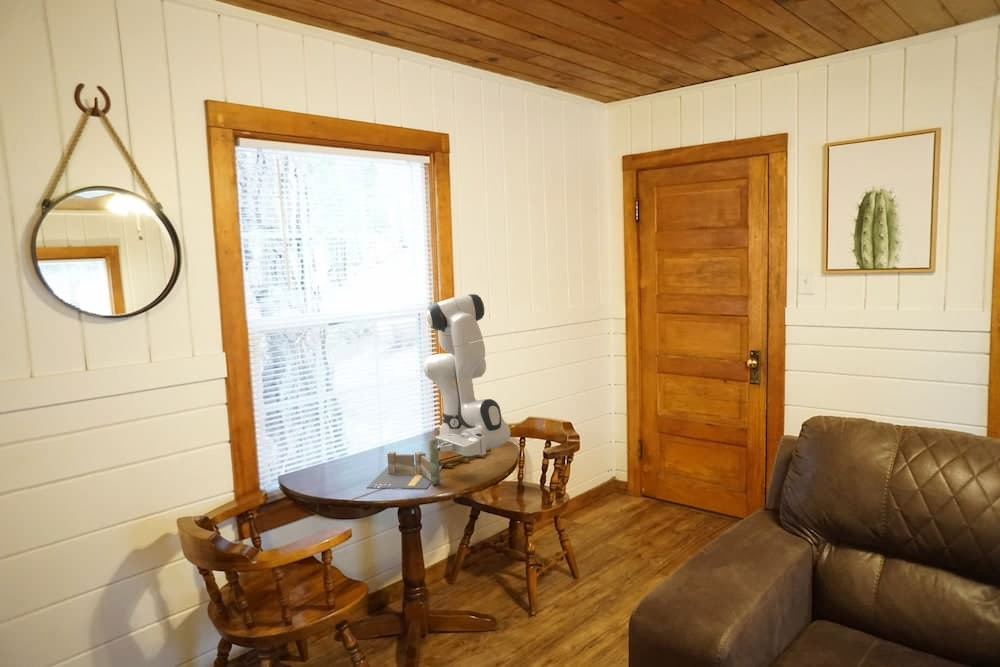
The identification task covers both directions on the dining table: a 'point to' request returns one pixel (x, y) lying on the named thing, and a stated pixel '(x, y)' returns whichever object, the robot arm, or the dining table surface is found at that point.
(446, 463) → the decorative fence
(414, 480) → the board
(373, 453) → the dining table surface
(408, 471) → the fixed fence section
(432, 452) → the swinging fence section
